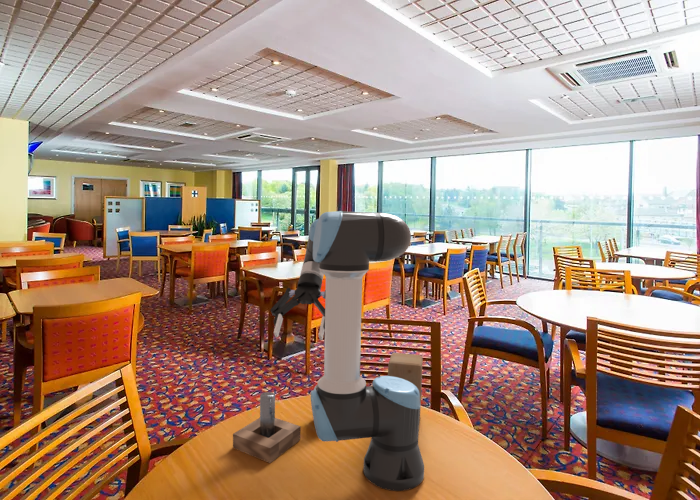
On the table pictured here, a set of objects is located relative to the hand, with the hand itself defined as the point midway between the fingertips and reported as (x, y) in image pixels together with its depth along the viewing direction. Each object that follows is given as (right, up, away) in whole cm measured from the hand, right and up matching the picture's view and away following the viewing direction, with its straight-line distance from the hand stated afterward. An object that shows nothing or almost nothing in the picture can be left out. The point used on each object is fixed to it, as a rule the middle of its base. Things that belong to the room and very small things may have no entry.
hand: (297, 336), depth 124 cm
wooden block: (+32, -28, +8) cm, 43 cm away
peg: (-8, -28, -7) cm, 30 cm away
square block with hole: (-8, -28, -7) cm, 30 cm away
